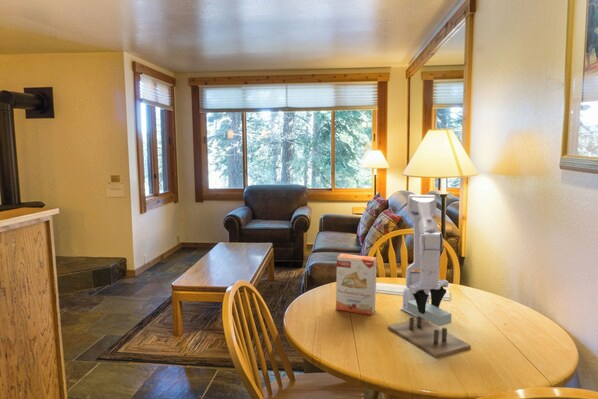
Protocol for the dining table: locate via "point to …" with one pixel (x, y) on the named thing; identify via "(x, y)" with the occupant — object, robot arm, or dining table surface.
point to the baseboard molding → (400, 290)
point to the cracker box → (356, 283)
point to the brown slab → (429, 337)
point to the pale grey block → (431, 313)
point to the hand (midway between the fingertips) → (428, 311)
